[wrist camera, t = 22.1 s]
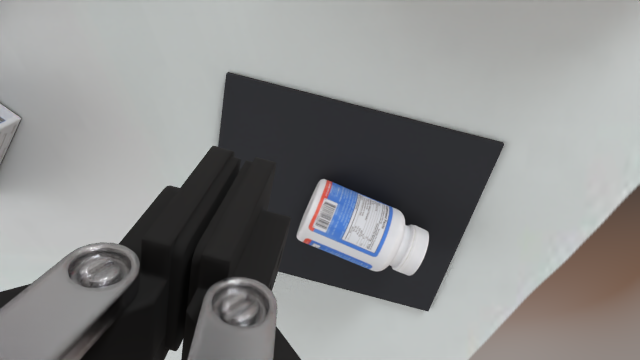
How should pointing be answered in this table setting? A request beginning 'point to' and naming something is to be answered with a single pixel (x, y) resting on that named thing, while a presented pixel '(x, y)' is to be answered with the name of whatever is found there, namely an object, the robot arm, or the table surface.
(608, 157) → the table surface
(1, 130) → the light bulb box
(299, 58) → the table surface
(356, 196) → the pill bottle
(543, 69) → the table surface
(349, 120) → the desk mat
